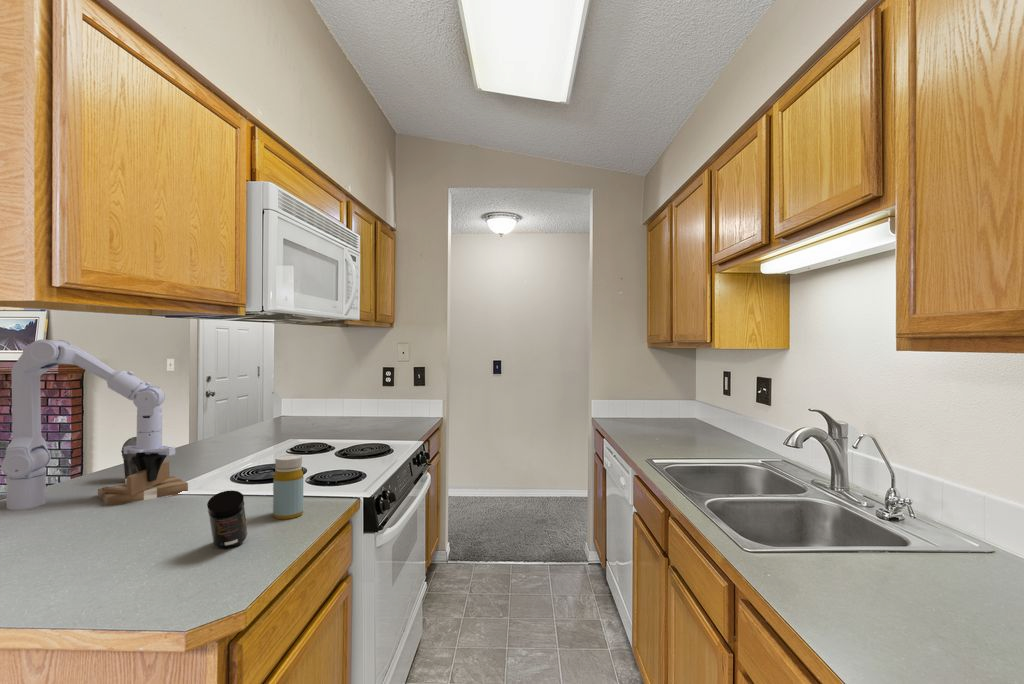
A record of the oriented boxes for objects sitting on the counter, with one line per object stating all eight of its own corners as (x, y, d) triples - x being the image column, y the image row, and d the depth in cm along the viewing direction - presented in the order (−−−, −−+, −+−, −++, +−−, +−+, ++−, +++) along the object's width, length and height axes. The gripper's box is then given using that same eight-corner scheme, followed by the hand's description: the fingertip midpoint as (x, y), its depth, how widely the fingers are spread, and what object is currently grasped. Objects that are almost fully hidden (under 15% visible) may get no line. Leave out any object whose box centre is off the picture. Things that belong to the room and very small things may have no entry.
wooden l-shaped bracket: (102, 491, 134) (100, 473, 134) (142, 474, 146) (141, 458, 146) (131, 495, 133) (130, 477, 132) (169, 478, 145) (169, 461, 144)
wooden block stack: (97, 503, 139) (97, 483, 139) (173, 489, 153) (173, 470, 153) (110, 514, 130) (110, 492, 130) (189, 498, 143) (189, 478, 144)
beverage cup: (116, 488, 153) (117, 422, 153) (144, 483, 159) (145, 419, 159) (126, 492, 149) (126, 424, 149) (154, 487, 155) (155, 421, 155)
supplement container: (243, 523, 115) (239, 486, 111) (251, 542, 110) (247, 504, 106) (210, 535, 111) (204, 497, 107) (216, 555, 106) (210, 516, 102)
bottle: (293, 509, 134) (293, 453, 134) (308, 515, 130) (309, 456, 130) (267, 517, 128) (268, 457, 128) (282, 522, 124) (283, 461, 124)
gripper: (113, 432, 136) (112, 483, 136) (160, 434, 134) (159, 485, 133) (136, 428, 143) (136, 476, 143) (181, 430, 141) (181, 478, 140)
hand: (149, 480), depth 139 cm, fingers closed on wooden l-shaped bracket
